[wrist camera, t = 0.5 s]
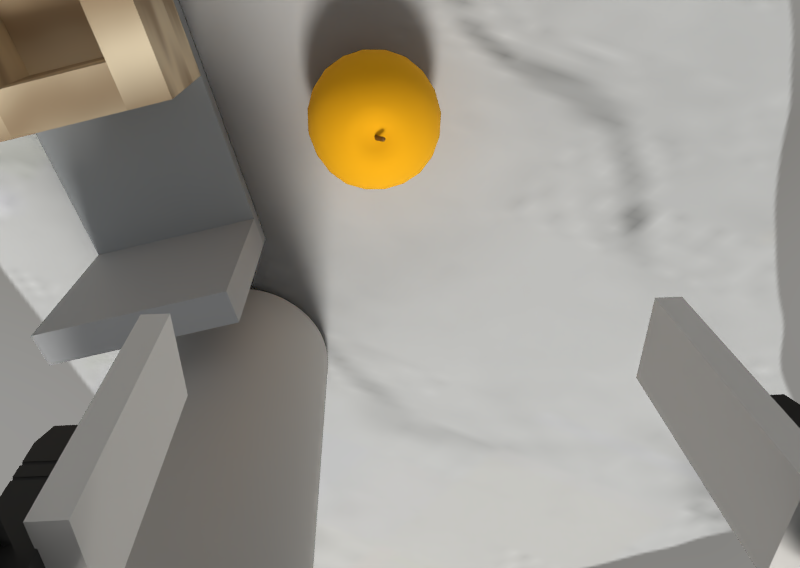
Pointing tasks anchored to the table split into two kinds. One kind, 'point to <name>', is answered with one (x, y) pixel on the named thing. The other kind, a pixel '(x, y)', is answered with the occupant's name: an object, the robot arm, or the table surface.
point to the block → (87, 60)
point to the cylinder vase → (242, 447)
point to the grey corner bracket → (153, 222)
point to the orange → (374, 119)
